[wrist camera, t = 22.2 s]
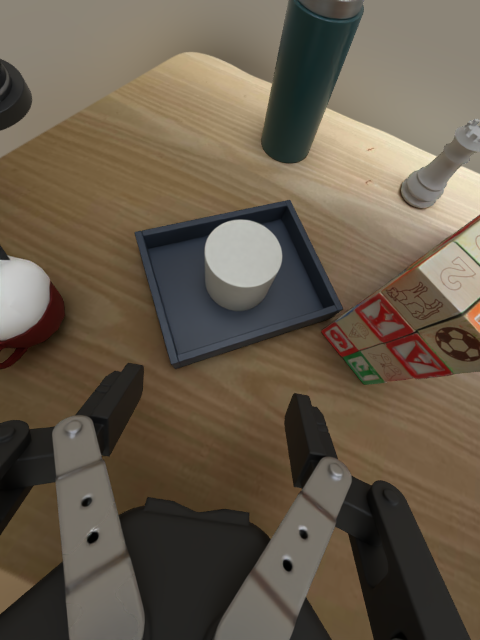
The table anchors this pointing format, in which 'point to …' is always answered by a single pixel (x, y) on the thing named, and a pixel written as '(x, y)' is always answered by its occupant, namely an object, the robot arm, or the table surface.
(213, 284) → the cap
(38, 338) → the cocoa
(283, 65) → the green metal cylinder
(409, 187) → the rook chess piece
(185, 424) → the table surface
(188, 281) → the tray
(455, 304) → the stack of blocks
